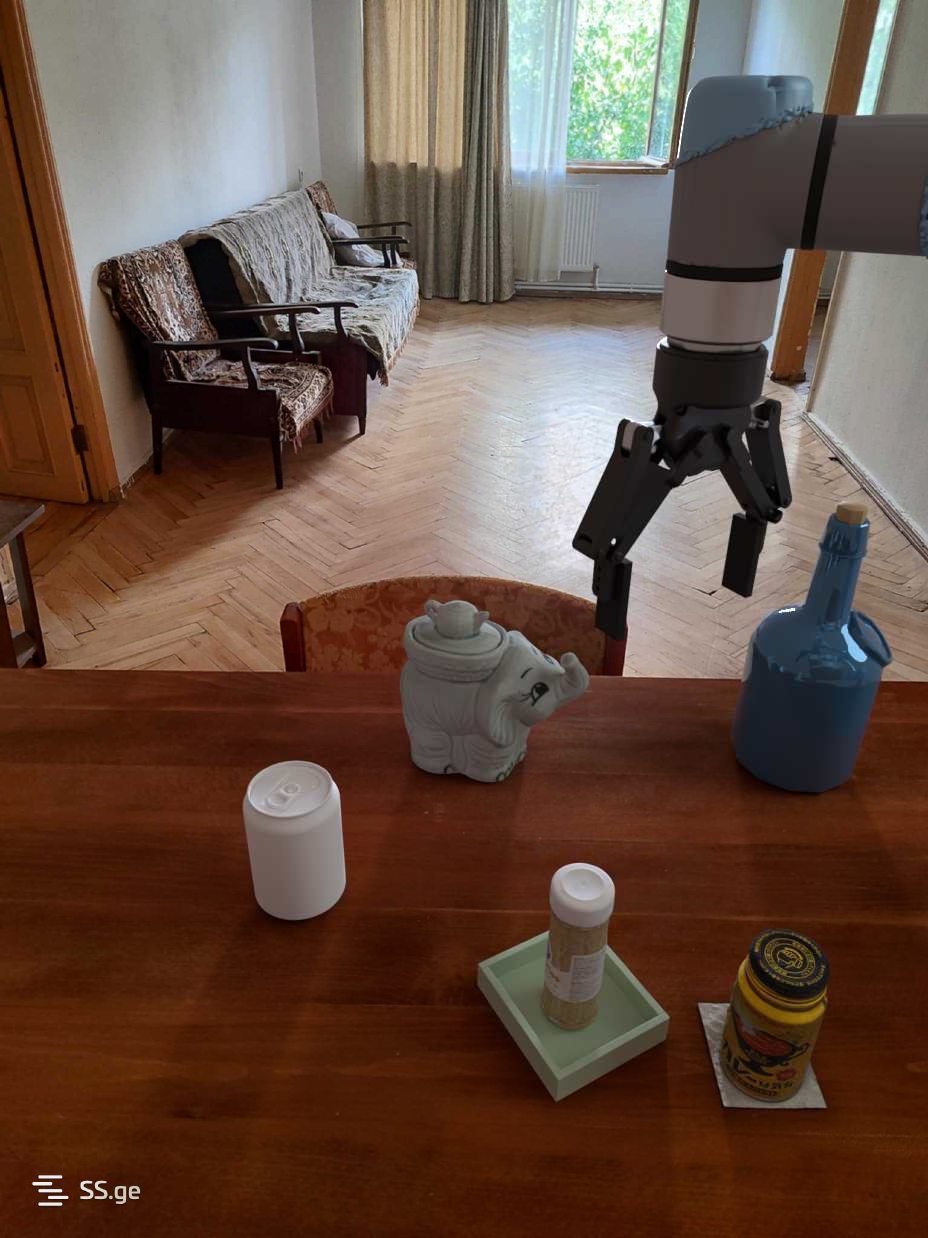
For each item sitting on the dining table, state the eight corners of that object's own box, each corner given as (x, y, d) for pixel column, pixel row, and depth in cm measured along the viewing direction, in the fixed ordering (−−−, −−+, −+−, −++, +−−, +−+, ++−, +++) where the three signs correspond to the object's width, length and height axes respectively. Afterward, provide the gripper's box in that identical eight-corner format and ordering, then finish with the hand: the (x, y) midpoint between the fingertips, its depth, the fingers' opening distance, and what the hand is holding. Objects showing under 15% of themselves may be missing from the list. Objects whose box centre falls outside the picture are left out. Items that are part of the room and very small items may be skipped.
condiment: (724, 1108, 63) (753, 998, 57) (697, 1004, 70) (721, 897, 64) (826, 1110, 63) (866, 1000, 57) (789, 1006, 70) (821, 898, 64)
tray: (665, 1039, 67) (670, 1018, 66) (555, 1102, 63) (558, 1080, 62) (579, 936, 76) (581, 914, 75) (477, 985, 71) (477, 963, 70)
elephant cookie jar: (584, 776, 94) (601, 624, 85) (467, 829, 87) (470, 669, 78) (496, 700, 106) (502, 559, 97) (386, 741, 99) (381, 593, 90)
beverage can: (363, 878, 81) (357, 777, 75) (307, 939, 75) (296, 834, 69) (295, 845, 85) (284, 746, 79) (236, 901, 79) (219, 798, 73)
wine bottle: (723, 782, 94) (778, 521, 79) (731, 712, 105) (780, 472, 90) (861, 811, 90) (945, 544, 75) (854, 736, 101) (927, 489, 86)
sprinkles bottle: (533, 988, 71) (542, 866, 64) (586, 977, 72) (601, 855, 65) (551, 1039, 67) (563, 914, 60) (608, 1026, 68) (626, 902, 61)
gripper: (794, 313, 69) (750, 558, 79) (532, 349, 58) (520, 630, 68) (878, 330, 63) (818, 592, 74) (605, 374, 52) (580, 676, 62)
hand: (675, 611), depth 71 cm, fingers open, 13 cm apart
